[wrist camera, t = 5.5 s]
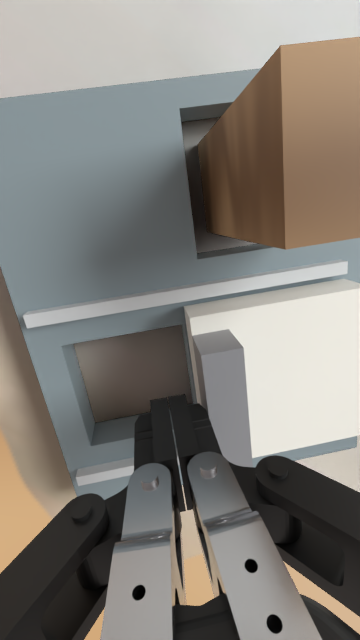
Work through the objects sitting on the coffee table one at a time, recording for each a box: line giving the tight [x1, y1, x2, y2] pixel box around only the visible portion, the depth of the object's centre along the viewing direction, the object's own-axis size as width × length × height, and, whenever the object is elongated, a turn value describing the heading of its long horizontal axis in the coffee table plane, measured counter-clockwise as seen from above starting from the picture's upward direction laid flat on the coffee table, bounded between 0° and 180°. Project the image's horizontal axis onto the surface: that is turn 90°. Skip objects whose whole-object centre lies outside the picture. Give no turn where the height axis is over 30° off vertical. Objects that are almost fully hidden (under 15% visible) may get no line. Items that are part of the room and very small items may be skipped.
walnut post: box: [198, 37, 360, 250], centre depth 11 cm, size 4×4×9 cm
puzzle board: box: [0, 69, 360, 500], centre depth 16 cm, size 20×17×3 cm
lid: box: [184, 279, 360, 467], centre depth 14 cm, size 8×8×4 cm
